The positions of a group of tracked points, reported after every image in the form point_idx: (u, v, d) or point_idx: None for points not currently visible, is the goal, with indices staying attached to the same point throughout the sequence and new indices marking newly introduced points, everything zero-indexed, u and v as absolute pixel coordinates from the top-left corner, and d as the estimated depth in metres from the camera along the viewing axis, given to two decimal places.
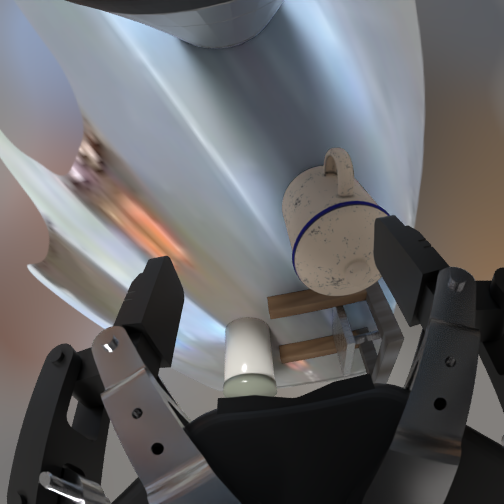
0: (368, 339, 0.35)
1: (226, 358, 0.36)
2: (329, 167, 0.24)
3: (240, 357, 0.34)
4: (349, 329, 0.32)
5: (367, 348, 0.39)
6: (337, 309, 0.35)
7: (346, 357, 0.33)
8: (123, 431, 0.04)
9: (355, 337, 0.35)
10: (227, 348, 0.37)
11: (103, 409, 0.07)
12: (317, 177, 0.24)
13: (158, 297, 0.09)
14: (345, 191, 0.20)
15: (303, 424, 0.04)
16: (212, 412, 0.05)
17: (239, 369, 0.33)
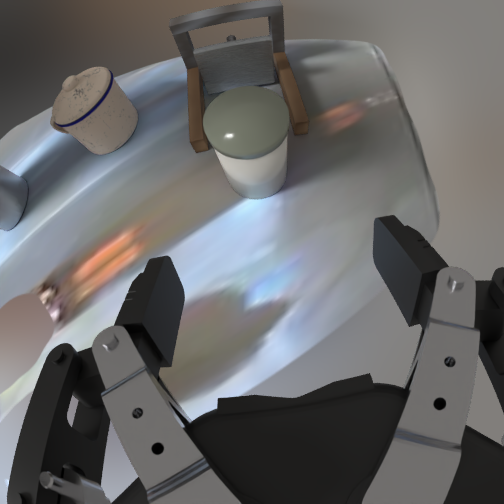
0: None
1: (235, 174, 0.25)
2: None
3: None
4: None
5: None
6: None
7: (222, 47, 0.25)
8: (123, 431, 0.04)
9: None
10: (234, 179, 0.26)
11: (103, 409, 0.07)
12: None
13: (159, 296, 0.09)
14: None
15: (303, 424, 0.04)
16: (212, 412, 0.05)
17: None
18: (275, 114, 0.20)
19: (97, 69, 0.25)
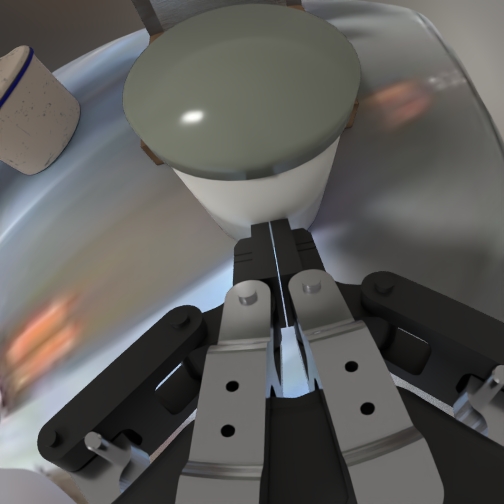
0: None
1: (218, 210, 0.11)
2: None
3: None
4: None
5: None
6: None
7: None
8: (207, 396, 0.05)
9: None
10: (219, 218, 0.12)
11: None
12: None
13: (274, 257, 0.10)
14: None
15: (303, 424, 0.04)
16: None
17: None
18: (320, 53, 0.06)
19: (15, 50, 0.11)
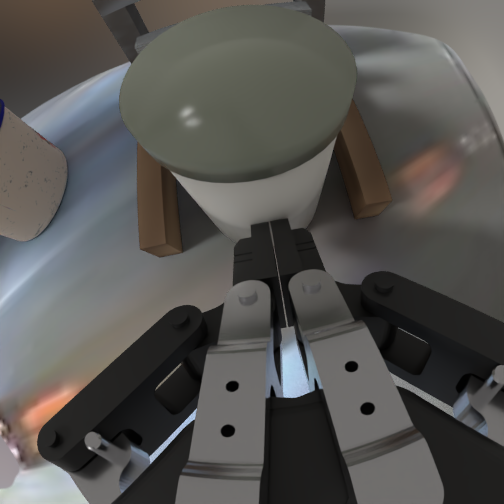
0: None
1: (219, 213, 0.11)
2: None
3: None
4: None
5: None
6: None
7: None
8: (207, 396, 0.05)
9: None
10: (220, 221, 0.12)
11: None
12: None
13: (274, 257, 0.10)
14: None
15: (303, 424, 0.04)
16: None
17: None
18: (315, 51, 0.06)
19: None
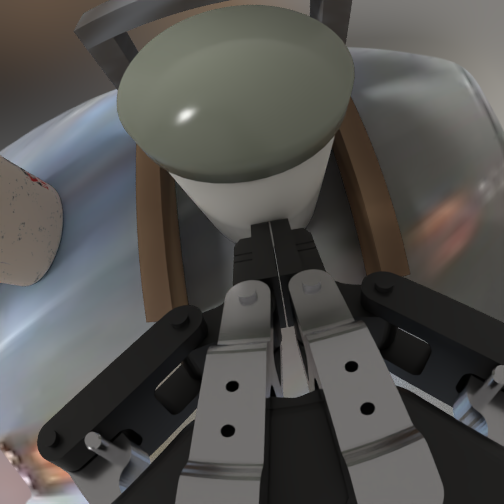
0: None
1: (219, 214, 0.11)
2: None
3: None
4: None
5: None
6: None
7: None
8: (207, 396, 0.05)
9: None
10: (220, 222, 0.12)
11: None
12: None
13: (274, 257, 0.10)
14: None
15: (303, 424, 0.04)
16: None
17: None
18: (312, 50, 0.06)
19: None
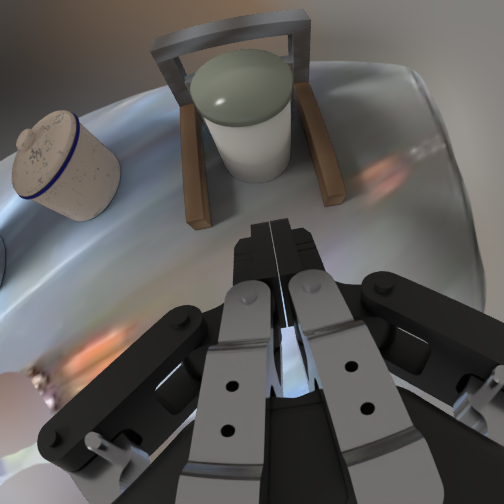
0: None
1: (233, 151, 0.20)
2: None
3: None
4: None
5: None
6: (202, 120, 0.25)
7: None
8: (207, 396, 0.05)
9: None
10: (232, 159, 0.22)
11: None
12: None
13: (274, 257, 0.10)
14: None
15: (303, 424, 0.04)
16: None
17: None
18: (275, 73, 0.16)
19: (60, 115, 0.19)
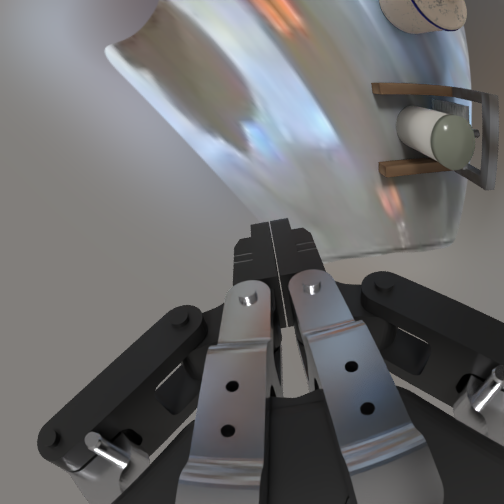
0: None
1: (418, 122, 0.28)
2: None
3: (435, 112, 0.26)
4: None
5: None
6: (439, 100, 0.29)
7: None
8: (207, 396, 0.05)
9: None
10: (413, 118, 0.29)
11: None
12: None
13: None
14: None
15: (303, 424, 0.04)
16: None
17: (441, 114, 0.25)
18: (455, 161, 0.26)
19: (462, 18, 0.16)
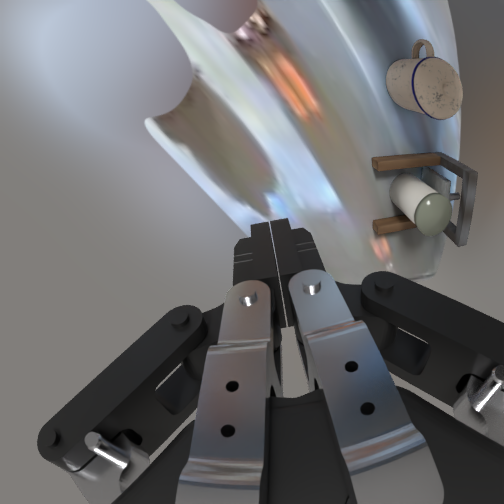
0: (452, 197, 0.39)
1: (407, 196, 0.39)
2: (414, 55, 0.29)
3: (421, 187, 0.37)
4: (442, 176, 0.36)
5: None
6: (428, 169, 0.39)
7: None
8: (207, 396, 0.05)
9: None
10: (403, 190, 0.40)
11: None
12: None
13: None
14: (431, 55, 0.25)
15: (303, 424, 0.04)
16: None
17: (426, 192, 0.36)
18: (433, 230, 0.37)
19: (457, 106, 0.27)
